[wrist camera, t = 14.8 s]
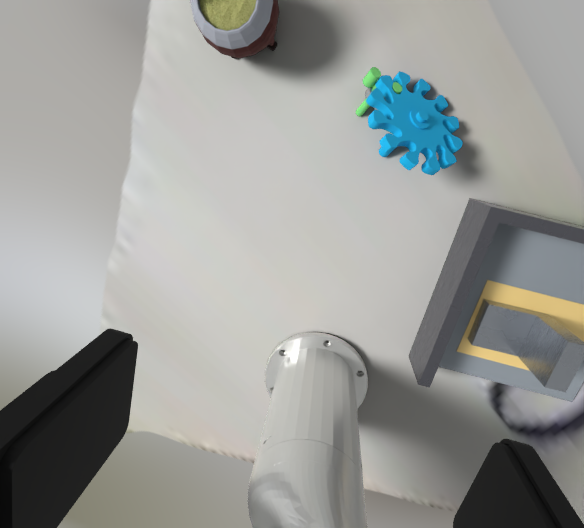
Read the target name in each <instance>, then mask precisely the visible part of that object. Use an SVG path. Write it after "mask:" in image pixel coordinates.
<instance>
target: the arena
mask: <svg viewBox="0 0 584 528" xmlns="http://www.w3.org/2000/svg"><path fill="white" fill-rule="evenodd" d="M483 299H487V300H491V301H495V302H499V303H504V304H508V305H512V306H516V307H520V308H525V309H529V310H533V311H537V312H541V313H546V314H549V315H550V316H551V317H552V318H554V319H555V320H556V321H558V322H559V323H560V324H561V325H563V326H564V327H565V328H567V329H568V330H569V331H570V332H572V333H573V334H574V335H575V336H577V337H578V338H579V339H581V340H582V341H583V342H584V227H583V226H579V225H575V224H571V223H567V222H563V221H559V220H555V219H551V218H547V217H543V216H539V215H535V214H531V213H527V212H523V211H519V210H515V209H511V208H507V207H503V206H499V205H495V204H491V203H486V202H482V201H478V200H474V199H469V202H468V204H467V207H466V209H465V212H464V215H463V217H462V220H461V222H460V225H459V228H458V230H457V233H456V235H455V238H454V240H453V243H452V246H451V248H450V251H449V253H448V256H447V258H446V261H445V264H444V266H443V269H442V271H441V274H440V277H439V279H438V282H437V284H436V287H435V289H434V292H433V295H432V297H431V300H430V302H429V305H428V308H427V310H426V313H425V315H424V318H423V320H422V323H421V326H420V328H419V331H418V333H417V336H416V339H415V341H414V344H413V346H412V349H411V351H410V354H409V359H410V362H411V365H412V368H413V371H414V373H415V376H416V379H417V382H418V384H419V385H422V386H426V387H430V385H431V383H432V381H433V378H434V376H435V373H436V371H437V369H438V366H439V367H443V368H446V369H450V370H454V371H458V372H461V373H465V374H469V375H473V376H476V377H480V378H484V379H488V380H491V381H495V382H499V383H503V384H507V385H510V386H514V387H518V388H522V389H525V390H529V391H533V392H537V393H540V394H544V395H548V396H552V397H555V398H559V399H563V400H567V401H570V402H572V401H573V399H574V397H575V396H576V394H577V392H578V391H579V389H580V387H581V385H582V384H583V382H584V360H583V362H582V364H581V365H580V367H579V369H578V371H577V373H576V375H575V377H574V378H573V380H572V382H571V384H570V386H569V388H568V389H567V391H566V392H562V391H558V390H554V389H550V388H546V387H544V386H543V385H542V384H541V383H540V381H539V380H538V379H537V378H536V377H535V376H534V374H533V373H532V372H531V371H530V370H529V369H528V368H527V366H526V365H525V364H524V363H523V362H522V361H521V360H520V358H519V357H518V356H514V355H510V354H506V353H502V352H498V351H494V350H490V349H486V348H482V347H478V346H473V345H471V343H470V342H469V340H468V339H467V338H468V336H469V333H470V331H471V328H472V326H473V323H474V321H475V319H476V316H477V314H478V311H479V309H480V307H481V304H482V302H483Z"/></svg>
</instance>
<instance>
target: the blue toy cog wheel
mask: <svg viewBox="0 0 584 528" xmlns="http://www.w3.org/2000/svg"><path fill="white" fill-rule="evenodd" d="M380 76H381V72H380V71H379V69H377V68H375V67H372V68H371V70H370V71H369V72H368V74H367V75H366V76H365V78H364V79H363V84H364V85H365V86H366V87H368V89H367V90H366V92H365V96H366V99H365V100H364V102H363V103H362V104H361V105H360V107H359V108H358V109H357V110H356V114H357V115H358V116H362V115H363V114H364V112H365V111H366V110H367V109H368V108H369V107H370V106H371V107H374V109H375V110H374V111H373V112H372V113H371V114H370V115H369V117H368V123H369V127H370V128H372V129H384V130H387V131H389V132H390V133H392V134H393V135H392V134H389V133H388V134H386V135H385V136H384V137H383V138H382V139H381V140H380V144H381V148H380V149H379V154H380V155H381V156H382V157H387V156H388V155H389V154H390V153H391V152H392V151H393V150H394V149H395V148H397V147H398V146H405V147H407V148H408V149H409V152H407V153H406V154H405V155H404V156H402V157H401V158H400V163H401V164H402V165H403V166H404V167H405V168H406V169H408V170H411V169H412V168H413V167H415V166H416V165H417V164H418V162H419V160H418V157H419V153H422V154H424V156H425V157H426V162H425V163H424V164H423V165H422V171H423V172H424V173H426V174H429V175H434V174H435V173H436V172H438V171H439V170H440V167H441V168H442V169H445V168H448V167H449V166H451V165H452V164H454V163H455V162H457V160H456V158H455V156H454V155H453V153H455V152H456V151H458V150H459V149H460V148H461V147H462V144H463V142H462V140H461V139H460V138H458V137H455V136H454V135H452V133H453V132H455V131H456V130H457V129H458V128H459V122H458V119H457V118H456V117H454V116H451V117H448V116H444V115H442V114H441V112H442V111H443V110H444V109H445V108H447V107H448V103H447V101H446V100H445V98H444V97H443V96H442V95H439V96H438V97H437V98H436V99H435V100H426V99H424V98H423V96H424V95H425V94H426V93H427V92H428V91H429V90H430V88H431V87H430V85H429V84H428V83H427V82H426V81H424V80H423V79H420V80H419V81H418V82H417V83H416V84H415V86H414V88H413V89H414V91H413V93H411V92H409V91H408V90H407V88H406V85H407V84H408V83H409V82H410V76H409V75H407V74H405V73H403V72H400V71H399V73H398V74H397V75H396V76H395V77H394V79H393V80H392V78H391V77H390V76H388V75H385V76H381V77H380ZM379 77H380V78H379ZM377 80H378V81H377ZM376 81H377V82H376ZM436 152H437V153H438V155H439V160H437V157H436Z"/></svg>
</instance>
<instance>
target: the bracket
mask: <svg viewBox="0 0 584 528" xmlns="http://www.w3.org/2000/svg"><path fill="white" fill-rule="evenodd" d="M467 339H468V340H469V342H470V343H471V345H473V346H478V347H482V348H486V349H490V350H494V351H498V352H502V353H506V354H510V355H514V356H518V357H519V358H520V360H521V361H522V362H523V363H524V364H525V365H526V366H527V368H528V369H529V370H530V371H531V372H532V373H533V374H534V376H535V377H536V378H537V379H538V380H539V381H540V383H541V384H542V385H543V386H544V387H546V388H550V389H554V390H558V391H562V392H566V391H567V389H568V388H569V386H570V384H571V382H572V380H573V378H574V377H575V375H576V373H577V371H578V369H579V367H580V365H581V364H582V362H583V360H584V342H583V341H582V340H581V339H579V338H578V337H577V336H575V335H574V334H573V333H572V332H570V331H569V330H568V329H567V328H565V327H564V326H563V325H561V324H560V323H559V322H558V321H556V320H555V319H554V318H552V317H551V316H550V315H549V314H546V313H541V312H537V311H533V310H529V309H525V308H520V307H516V306H512V305H508V304H504V303H499V302H495V301H491V300H487V299H483V302H482V304H481V307H480V309H479V311H478V314H477V316H476V319H475V321H474V323H473V326H472V328H471V331H470V333H469V336H468V338H467Z"/></svg>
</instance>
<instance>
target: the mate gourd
mask: <svg viewBox="0 0 584 528" xmlns="http://www.w3.org/2000/svg"><path fill="white" fill-rule="evenodd" d="M190 3H191V8H192V12H193V17H194V21H195V22H196V25H197V26H198V28H199V30H200V31H201V33H202V35H203V36H204V38H205V40H206V41H207V42H208V43H209V44H210V45H211V46H213V47H214V48H215V49H216V50H218V51H219V52H220V53H222V54H224V55H228V56H231V57H232V58H234V59H236V58H242V57H247V56H252V55H255V54H257V53H258V52H260V51H261V50H263V49H264V48H266V47H268V48H269V49H271V50H272V51H273V50H275V48H276V47H277V42H275V40H274V36H275V32H276V27H277V22H278V16H279V7H278V0H190Z"/></svg>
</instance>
